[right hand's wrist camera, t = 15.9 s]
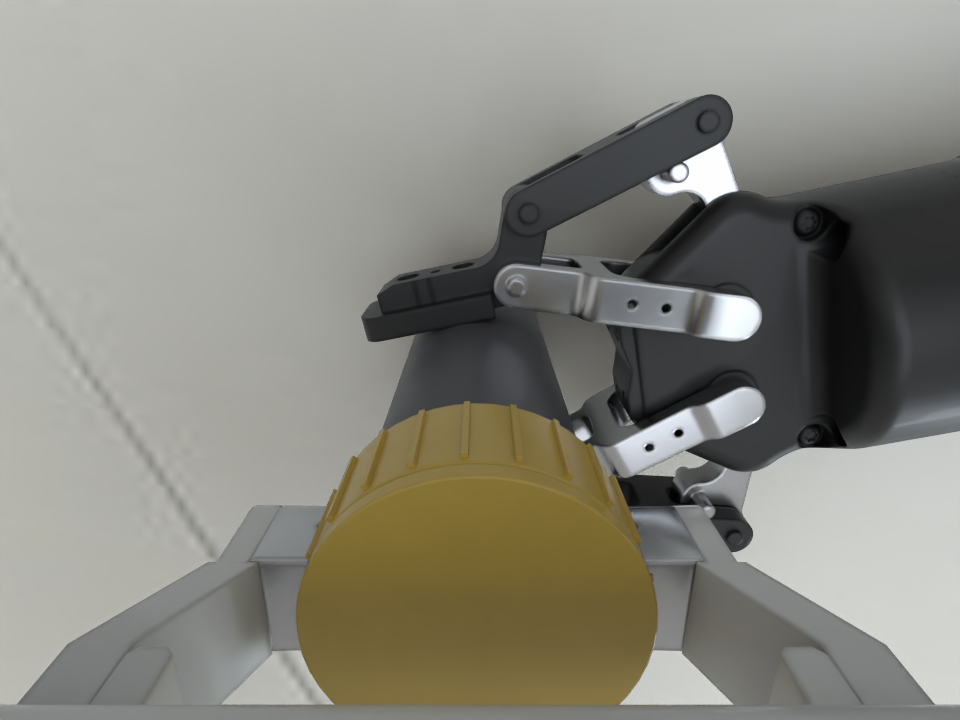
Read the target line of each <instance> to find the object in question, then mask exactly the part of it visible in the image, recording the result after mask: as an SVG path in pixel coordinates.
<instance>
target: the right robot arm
mask: <svg viewBox="0 0 960 720" xmlns="http://www.w3.org/2000/svg"><path fill="white" fill-rule="evenodd" d="M326 507H327V506H281V505H257V506H255V507H253V508H252V509H251V510H250V511H249V513H248V514H247V516H246V518H245V519H244V521H243V522H242V524H241V525H240V527H239V528H238V530H237V531H236V533H235V535H234V536H233V538H232V539H231V541H230V542H229V544H228V545H227V547H226V548H225V550H224V552H223V553H222V555H221V556H220V558H219V559H218V561H217V562H208V563H206V564H204V565H203V566H201V567H199V568H198V569H196V570H194V571H192V572H191V573H189V574H187V575H186V576H184V577H182V578H180V579H179V580H177V581H175V582H174V583H172V584H170V585H168V586H167V587H165V588H163V589H162V590H160V591H158V592H156V593H155V594H153V595H151V596H149V597H148V598H146V599H144V600H143V601H141V602H139V603H137V604H136V605H134V606H132V607H131V608H129V609H127V610H125V611H124V612H122V613H120V614H119V615H117V616H115V617H113V618H112V619H110V620H108V621H107V622H105V623H103V624H101V625H100V626H98V627H96V628H94V629H93V630H91V631H89V632H88V633H86V634H84V635H82V636H81V637H79V638H77V639H76V640H74V641H72V642H70V643H69V644H67V645H66V647H65V648H64V649H63V650H62V651H61V653H60V654H59V655H58V656H57V657H56V659H55V660H54V661H53V662H52V663H51V664H50V666H49V667H48V668H47V669H46V670H45V672H44V673H43V674H42V675H41V676H40V678H39V679H38V680H37V681H36V682H35V684H34V685H33V686H32V687H31V688H30V689H29V691H28V692H27V693H26V694H25V695H24V697H23V698H22V699H21V700H20V701H19V703H18V704H17V705H0V720H960V705H935V704H934V703H933V702H932V700H931V699H930V698H929V697H928V696H927V694H926V693H925V692H924V691H923V689H922V688H921V687H920V686H919V685H918V683H917V682H916V681H915V680H914V678H913V677H912V676H911V675H910V674H909V672H908V671H907V670H906V669H905V667H904V666H903V665H902V664H901V663H900V661H899V660H898V659H897V658H896V656H895V655H894V654H893V653H892V652H891V650H890V649H889V648H888V647H887V645H885V644H883V643H882V642H880V641H878V640H877V639H875V638H873V637H872V636H870V635H868V634H867V633H865V632H863V631H861V630H860V629H858V628H856V627H855V626H853V625H851V624H850V623H848V622H846V621H844V620H843V619H841V618H839V617H838V616H836V615H834V614H833V613H831V612H829V611H828V610H826V609H824V608H822V607H821V606H819V605H817V604H816V603H814V602H812V601H811V600H809V599H807V598H805V597H804V596H802V595H800V594H799V593H797V592H795V591H794V590H792V589H790V588H788V587H787V586H785V585H783V584H782V583H780V582H778V581H777V580H775V579H773V578H772V577H770V576H768V575H766V574H765V573H763V572H761V571H760V570H758V569H756V568H755V567H753V566H751V565H749V564H748V563H746V562H737V561H736V559H735V558H734V556H733V555H732V553H731V551H730V550H729V548H728V547H727V545H726V544H725V542H724V540H723V539H722V537H721V536H720V534H719V533H718V531H717V530H716V528H715V526H714V525H713V523H712V522H711V520H710V519H709V517H708V515H707V514H706V512H705V511H704V509H703V508H702V507H700V506H699V505H684V506H668V507H628V508H629V511H630V513H631V515H632V518H633V520H634V523H635V525H636V528H637V530H638V532H639V535H640V537H641V540H642V541H641V542H639V543H638V545H639V548H640V550H641V553H642V556H643V558H644V560H645V563H646V565H647V568H648V570H649V573H650V575H653V578H654V581H653V585H654V588H655V593H656V599H657V606H658V628H657V634H656V639H655V644H654V648H653V650H668V651H682V654H683V655H684V656H685V657H686V658H687V659H688V660H689V661H690V662H691V663H692V664H693V665H694V666H695V667H697V668H698V669H699V670H700V671H701V672H702V673H703V674H704V675H705V676H706V677H707V678H708V679H709V680H710V681H711V682H712V683H713V684H714V685H715V686H716V687H717V688H718V689H719V690H720V691H721V692H722V693H723V694H724V695H725V696H726V697H727V698H728V699H729V700H730V701H731V702H732V703H733V704H734V705H220V704H221V703H222V702H223V701H224V700H225V699H226V698H227V697H228V696H229V695H230V694H231V693H232V692H233V691H234V690H236V689H237V688H238V687H239V686H240V685H241V684H242V683H243V682H244V681H245V680H246V679H247V678H248V677H249V676H250V675H251V674H252V673H253V672H254V671H255V670H256V669H257V668H258V667H259V666H260V665H261V664H262V663H263V662H264V661H265V660H266V659H267V658H268V657H269V656H270V655H271V654H272V651H286V650H301V648H300V644H299V640H298V637H297V627H296V604H297V596H298V592H299V588H300V584H301V580H302V577H303V575H304V572H305V570H306V567H307V565H308V563H309V560H308V559H305V556H306V553H307V551H308V548H309V546H310V544H311V541H312V539H313V537H314V535H315V532H316V530H317V528H318V525H319V523H320V521H321V518H322V516H323V514H324V511H325V509H326Z"/></svg>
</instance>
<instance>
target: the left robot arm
mask: <svg viewBox="0 0 960 720" xmlns="http://www.w3.org/2000/svg"><path fill="white" fill-rule="evenodd" d="M732 121H733V114H732V110H731V107H730V105H729V104H728V102H727V101H726V100H725V99H724V98H722V97H720V96H717V95H712V94H711V95H704V96H700V97H696V98H692V99H688V100H684V101H679V102H675V103H671V104H669V105H667V106H665V107H663V108H661V109H659V110H657V111H655V112H654V113H652V114H650V115H648V116H646V117H644V118H642V119H640V120H638V121H636V122H634V123H633V124H631V125H629V126H627V127H625V128H623V129H621V130H619V131H617V132H615V133H613V134H611V135H610V136H608V137H606V138H604V139H602V140H600V141H598V142H596V143H594V144H592V145H590V146H589V147H587V148H585V149H583V150H581V151H579V152H577V153H575V154H573V155H571V156H569V157H568V158H566V159H564V160H562V161H560V162H558V163H556V164H554V165H552V166H550V167H548V168H547V169H545V170H543V171H541V172H539V173H537V174H535V175H533V176H531V177H529V178H527V179H526V180H524V181H522V182H520V183H518V184H516V185H514V186H512V187H511V188H510V189H508V190H507V192H506V193H505V195H504V197H503V200H502V211H501V218H500V224H499V231H498V237H497V241H496V243H495V245H494V247H493V248H492V249H491V251H490V252H489V253H487V254H486V255H485V256H483V257H481V258H477V259H473V260H468V261H463V262H459V263H454V264H449V265H444V266H439V267H434V268H430V269H425V270H420V271H415V272H410V273H405V274H401V275H398V276H397V277H395V278H394V279H392V280H391V281H389V282H388V283H386V284H385V285H384V287H383V288H382V289H381V291H380V292H379V294H378V295H377V298H378V301H376V302H374V303H372V304H370V305H369V307H368V308H367V309H366V311H365V312H364V314H363V315H362V316H361V318H362V321H363V325H364V328H365V332H366V335H367V339H368V341H370V342H379V341H384V340H390V339H395V338H400V337H405V336H410V335H415V334H420V333H425V332H430V331H435V330H440V329H445V328H450V327H454V326H458V325H462V324H470V323H475V322H480V321H485V320H490V319H495V318H496V312H495V308H498V307H503V306H507V307H510V308H516V309H524V310H533V311H541V312H550V313H558V314H567V315H573V316H576V317H579V318H581V319H583V320H586V321H590V322H595V323H602V324H606V326H607V328H608V330H609V332H610V335H611V337H612V339H613V341H614V344H615V346H616V353H615V360H614V366H613V377H614V385H612V386H611V387H609V388H607V389H605V390H603V391H601V392H599V393H597V394H595V395H593V396H591V397H590V398H589V399H587V400H586V401H585V402H584V404H583V406H582V408H581V409H580V410H578V411H577V412H575V413H573V414H571V415H569V417H570V420H571V423H572V426H573V429H574V432H575V435H576V437H578V438H579V439H580V440H581V441H583V442H584V443H585V444H586V445H587V444H588V443H590V444H591V445H592V446H593V448H594V450H595V453H596V456H597V457H598V458H599V460H600V461H601V463H602V464H603V465H604V467H605V468H606V470H607V472H608V473H609V475H610V476H611V475H613V474H614V475H615V477H616V479H617V482H618V484H619V486H620V489H621V491H622V494H623V496H624V498H625V501H626V503H627V506H628V507H668V506H684V505H699V506H700V507H702V508H703V509H704V511H705V512H706V514H707V515H708V517H709V519H710V520H711V522H712V523H713V525H714V526H715V528H716V530H717V531H718V533H719V534H720V536H721V537H722V539H723V540H724V542H725V544H726V545H727V547H728V548H729V550H730V551H731V552H737V551H740V550H742V549H744V548H745V547H746V546H748V545H749V543H750V542H751V540H752V537H753V530H752V528H751V526H750V525H749V524H748V522H747V521H746V519H745V518H744V517H743V514H742V508H743V504H744V500H745V496H746V492H747V488H748V484H749V480H750V476H751V473H752V471H756V470H759V469H762V468H764V467H766V466H768V465H770V464H771V463H773V462H774V461H776V460H777V459H779V458H780V457H782V456H784V455H786V454H788V453H790V452H792V451H795V450H797V449H801V448H841V449H857V448H866V447H871V446H877V445H883V444H888V443H894V442H900V441H905V440H911V439H917V438H923V437H928V436H934V435H940V434H945V433H951V432H957V431H960V156H958V157H956V159H953V160H951V161H947V162H942V163H938V164H933V165H928V166H923V167H919V168H914V169H909V170H904V171H900V172H895V173H890V174H885V175H881V176H876V177H871V178H866V179H861V180H857V181H852V182H847V183H842V184H837V185H832V186H828V187H823V188H818V189H813V190H808V191H803V192H799V193H794V194H789V195H784V196H778V197H764V196H762V195H759V194H756V193H753V192H748V191H739V189H738V186H737V183H736V180H735V177H734V174H733V171H732V168H731V165H730V162H729V159H728V156H727V153H726V150H725V147H724V144H723V140H724V139H725V138H726V136H727V135H728V133H729V131H730V129H731V126H732ZM639 184H642V186H643V187H644V188H645V189H646V190H648V191H650V192H652V193H657V194H661V195H665V196H670V195H674V194H677V193H681V192H686V193H687V194H689V195H690V196H691V198H692V199H693V201H694V203H693V204H692V205H691V206H690V207H689V208H688V209H687V210H686V211H685V212H684V213H683V214H682V215H681V216H680V217H679V218H678V219H677V220H676V221H675V222H674V223H673V224H672V225H671V226H670V227H669V228H668V229H667V230H666V231H665V232H664V233H663V234H662V235H661V236H660V237H659V238H658V239H657V240H656V241H655V242H654V243H653V244H652V245H650V246H649V247H648V248H647V249H646V250H645V251H644V252H643V253H642V254H641V255H640V256H639V257H638V258H637V259H636V260H635V261H629V260H620V259H612V258H604V257H596V256H588V255H559V254H551V253H543V250H544V245H545V239H546V234H547V231H548V230H549V229H551V228H553V227H555V226H557V225H559V224H561V223H563V222H565V221H567V220H569V219H571V218H573V217H575V216H577V215H579V214H581V213H583V212H585V211H587V210H589V209H591V208H593V207H595V206H597V205H599V204H601V203H603V202H605V201H607V200H609V199H611V198H613V197H615V196H617V195H619V194H621V193H623V192H625V191H627V190H629V189H631V188H633V187H635V186H637V185H639ZM630 420H632V421H633V422H634V424H633V425H630V426H625V425H626V424H627V423H628V422H629V421H630ZM683 451H687V452H690V453H692V454H694V455H697V456H699V457H701V458H704V459H706V460H709V461H708V462H707V463H706V464H704V465H702V466H700V467H697V468H690V469H688V468H687V467H680V468H678V469H677V470H676V472H675V475H676V476H675V477H669V476H649V475H636V474H638V473H640V472H642V471H644V470H646V469H648V468H650V467H652V466H654V465H656V464H658V463H661V462H663V461H665V460H667V459H669V458H671V457H673V456H675V455H677V454H679V453H681V452H683Z"/></svg>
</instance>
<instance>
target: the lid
mask: <svg viewBox="0 0 960 720" xmlns="http://www.w3.org/2000/svg"><path fill="white" fill-rule="evenodd" d="M641 541H642V540H641V537H640V535H639V532H638V530H637V528H636V525H635V523H634V520H633V518H632V515H631V513H630V511H629V508H628V506H627V503H626V501H625V498H624V496H623V494H622V491H621V489H620V486H619V484H618V482H617V479H616V477H615V475H614V474H613V475H611V476H610V475H609V473H608V472H607V470H606V468H605V467H604V465H603V464H602V463H601V461H600V460H599V458H598V457H597V456H596V453H595V450H594V448H593V446H592V445H591V444H590V443H588V444H587V445H586V444H585V443H584V442H583V441H581V440H580V439H579V438H578V437H576V436H575V435H574V434H573V433H571V432H570V431H569V430H567V429H565V428H564V427H562V426H560V424H559V421H558V420H556V419H553V420H549V419H547V418H544V417H542V416H540V415H537V414H535V413H532V412H529V411H525V410H522V409H518V408H517V406H516V405H512V404H510V407H509V406H503V405H496V404H479V403H471V404H470V401H464V404H459V405H451V406H446V407H441V408H436V409H432V410H429V411H425V409H423V410H420V411H419V412H418V414H417V415H414V416H412V417H410V418H408V419H406V420H404V421H402V422H400V423H398V424H396V425H394V426H393V427H391V428H390V429H388V430H386V429H385V428H383V429H382V430H381V431H380V432H379V435H378V437H377V438H376V439H375V440H373V441H372V442H371V443H370V444H369V445H368V446H367V447H366V448H365V449H364V450H363V451H362V452H361V453H360V455H359V456H358V457H357V458H356V457H355V456H353V457H352V458H351V459H350V461H349V464H348V466H347V468H346V471H345V473H344V476H343V478H342V480H341V483H340V485H339V487H338V490H335V489H334V490H333V493H332V495H331V497H330V500H329V502H328V504H327V507H326V509H325V511H324V514H323V516H322V518H321V521H320V523H319V525H318V528H317V530H316V532H315V535H314V537H313V539H312V541H311V544H310V546H309V548H308V551H307V553H306V556H305V559H308V560H309V563H308V565H307V567H306V570H305V572H304V575H303V577H302V580H301V584H300V588H299V592H298V596H297V604H296V627H297V637H298V640H299V644H300V648H301V652H302V655H303V657H304V660H305V662H306V664H307V666H308V669H309V671H310V673H311V674H312V676H313V677H314V679H315V681H316V682H317V684H318V685H319V687H320V688H321V689H322V691H323V692H324V693H325V694H326V695H327V696H328V698H329V699H330V700H331V701H332V702H333V703H334V704H335V705H619V704H620V703H621V702H622V701H623V700H624V699H625V698H626V697H627V696H628V695H629V693H630V692H631V691H632V689H633V688H634V687H635V685H636V684H637V683H638V681H639V679H640V678H641V676H642V674H643V672H644V670H645V668H646V667H647V665H648V662H649V659H650V657H651V654H652V651H653V648H654V644H655V639H656V634H657V628H658V606H657V599H656V593H655V588H654V585H653V581H654V578H653V575H650V573H649V570H648V568H647V565H646V563H645V560H644V558H643V556H642V553H641V550H640V548H639V545H638V543H639V542H641Z"/></svg>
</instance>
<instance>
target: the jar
mask: <svg viewBox="0 0 960 720" xmlns="http://www.w3.org/2000/svg"><path fill="white" fill-rule="evenodd" d="M495 312H496V318H495V319H490V320H485V321H480V322H475V323H470V324H462V325H458V326H454V327H450V328H445V329H440V330H435V331H430V332H425V333H420V334H416V335H415V338H414V340H413V343H412V346H411V349H410V352H409V355H408V358H407V360H406V363H405V366H404V369H403V372H402V375H401V378H400V380H399V383H398V386H397V389H396V392H395V395H394V398H393V401H392V403H391V406H390V409H389V412H388V415H387V418H386V421H385V423H384V426H383V428H385V429H386V430H388V429H390V428H391V427H393V426H394V425H396V424H398V423H400V422H402V421H404V420H406V419H408V418H410V417H412V416H414V415H417V414H418V412H419V411H420V410H423V409H425V411H429V410H432V409H436V408H441V407H446V406H451V405H459V404H464V401H470V404H471V403H479V404H496V405H503V406H509V407H510V404H512V405H516V406H517V408H518V409H522V410H525V411H529V412H532V413H535V414H537V415H540V416H542V417H544V418H547V419H549V420H553V419H556V420H558V421H559V424H560V426H562V427H564V428H565V429H567V430H569V431H570V432H571V433H573V434H574V435H575V432H574V429H573V426H572V423H571V420H570V417H569V414H568V411H567V408H566V405H565V402H564V399H563V396H562V393H561V390H560V387H559V384H558V381H557V378H556V375H555V372H554V369H553V366H552V363H551V360H550V357H549V354H548V351H547V348H546V345H545V342H544V339H543V336H542V333H541V330H540V327H539V324H538V321H537V318H536V315H535V312H534V311H533V310H524V309H516V308H510V307H507V306H503V307H498V308H495ZM575 436H576V435H575Z"/></svg>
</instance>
